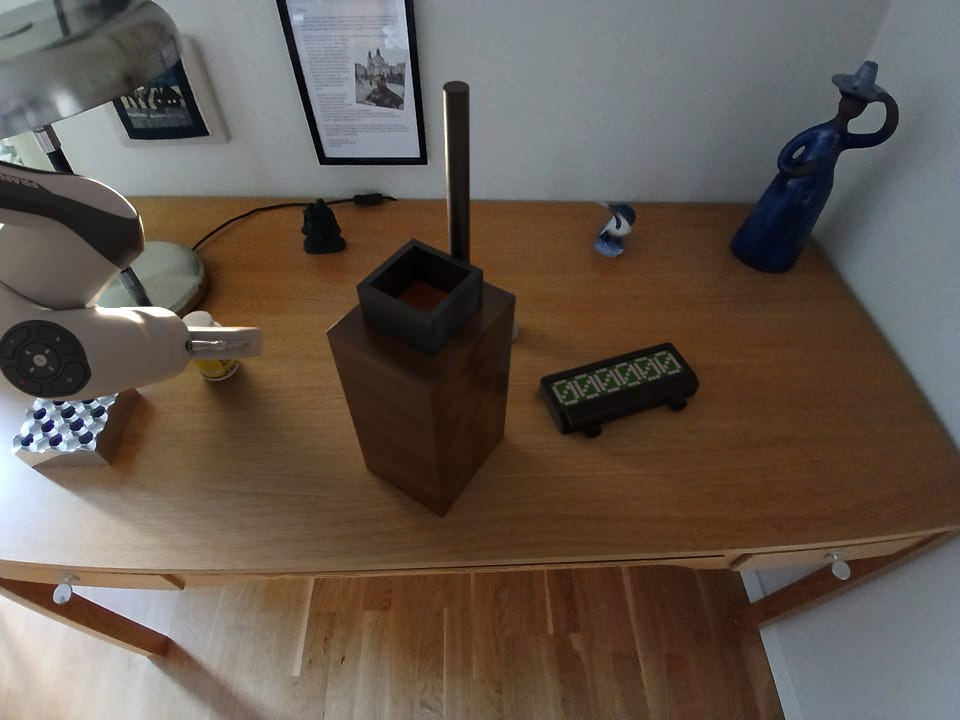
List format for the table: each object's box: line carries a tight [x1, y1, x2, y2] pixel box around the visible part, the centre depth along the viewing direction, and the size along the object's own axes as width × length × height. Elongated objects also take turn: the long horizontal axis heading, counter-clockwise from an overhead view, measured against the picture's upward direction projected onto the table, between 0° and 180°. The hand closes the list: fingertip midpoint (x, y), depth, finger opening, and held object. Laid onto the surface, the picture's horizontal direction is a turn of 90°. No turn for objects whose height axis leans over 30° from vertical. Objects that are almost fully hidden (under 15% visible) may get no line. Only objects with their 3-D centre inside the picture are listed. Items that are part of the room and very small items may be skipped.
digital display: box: [538, 341, 700, 439], centre depth 78 cm, size 21×3×10 cm
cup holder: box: [325, 80, 517, 519], centre depth 55 cm, size 14×12×45 cm
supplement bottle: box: [181, 310, 240, 382], centre depth 78 cm, size 5×5×10 cm
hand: (205, 338), depth 77 cm, fingers open, 8 cm apart
